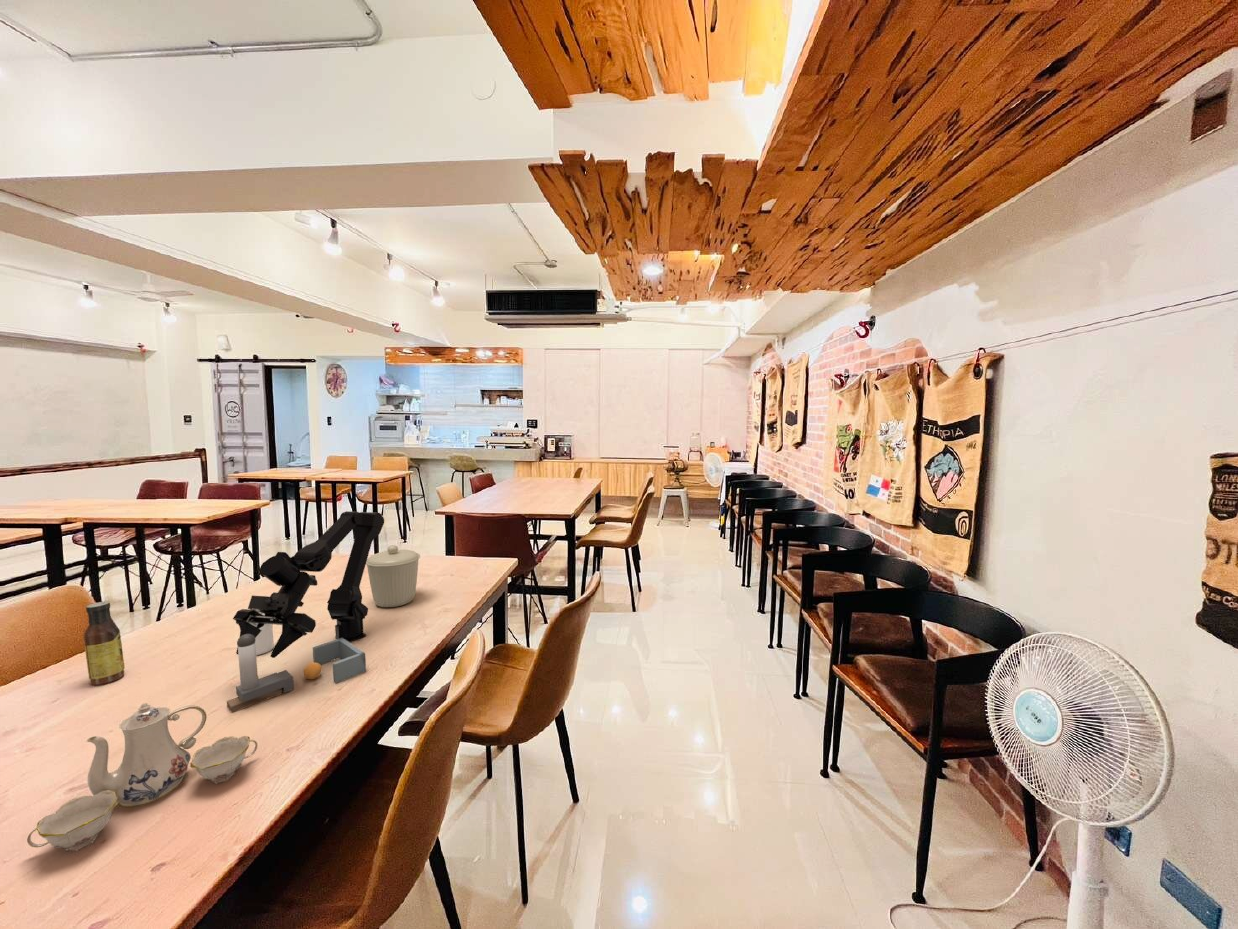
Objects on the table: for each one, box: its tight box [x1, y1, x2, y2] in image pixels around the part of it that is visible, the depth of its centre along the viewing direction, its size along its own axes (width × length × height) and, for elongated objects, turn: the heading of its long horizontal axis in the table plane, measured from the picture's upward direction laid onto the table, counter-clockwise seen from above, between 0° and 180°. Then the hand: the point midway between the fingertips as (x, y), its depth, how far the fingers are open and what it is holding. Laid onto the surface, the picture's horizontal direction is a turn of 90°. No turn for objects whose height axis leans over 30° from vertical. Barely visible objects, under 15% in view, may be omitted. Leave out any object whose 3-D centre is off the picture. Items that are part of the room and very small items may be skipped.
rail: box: [226, 688, 283, 713], centre depth 112 cm, size 10×4×1 cm, turn 141°
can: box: [249, 608, 275, 657], centre depth 135 cm, size 6×6×12 cm
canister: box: [365, 544, 421, 608], centre depth 171 cm, size 18×18×21 cm
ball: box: [302, 662, 323, 680], centre depth 122 cm, size 4×4×4 cm
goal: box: [312, 638, 367, 684], centre depth 126 cm, size 7×14×5 cm, turn 51°
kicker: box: [235, 634, 295, 702], centre depth 113 cm, size 10×5×16 cm, turn 141°
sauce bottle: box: [83, 601, 125, 686], centre depth 120 cm, size 6×6×20 cm
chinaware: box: [26, 702, 258, 852], centre depth 83 cm, size 28×17×17 cm, turn 147°
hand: (255, 655), depth 112 cm, fingers open, 9 cm apart
